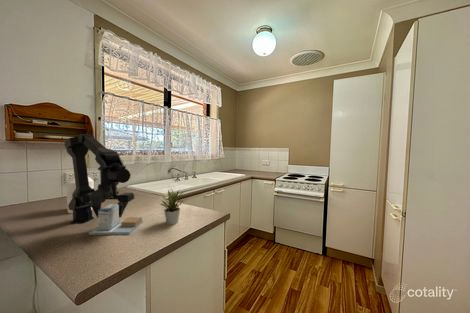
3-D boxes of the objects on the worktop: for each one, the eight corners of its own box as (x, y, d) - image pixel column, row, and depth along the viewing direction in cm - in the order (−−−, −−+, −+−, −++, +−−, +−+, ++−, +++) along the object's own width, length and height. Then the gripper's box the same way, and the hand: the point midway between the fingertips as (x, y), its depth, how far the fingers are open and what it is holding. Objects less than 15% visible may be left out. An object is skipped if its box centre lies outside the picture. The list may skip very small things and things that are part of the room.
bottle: (63, 210, 103) (62, 165, 102) (89, 205, 113) (88, 164, 112) (71, 215, 97) (70, 167, 96) (98, 208, 107) (97, 165, 106)
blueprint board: (88, 235, 74) (87, 227, 74) (108, 222, 87) (108, 216, 87) (128, 234, 75) (128, 227, 75) (143, 222, 87) (142, 216, 87)
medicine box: (110, 222, 84) (110, 204, 84) (120, 222, 84) (120, 204, 84) (98, 230, 76) (97, 209, 76) (109, 230, 77) (108, 209, 76)
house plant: (196, 220, 91) (196, 187, 90) (175, 231, 78) (175, 193, 78) (175, 215, 97) (175, 184, 97) (152, 224, 85) (152, 189, 84)
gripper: (70, 184, 71) (71, 224, 71) (120, 184, 71) (120, 224, 72) (91, 179, 82) (92, 214, 83) (134, 179, 83) (135, 214, 83)
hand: (109, 217), depth 80 cm, fingers open, 9 cm apart
